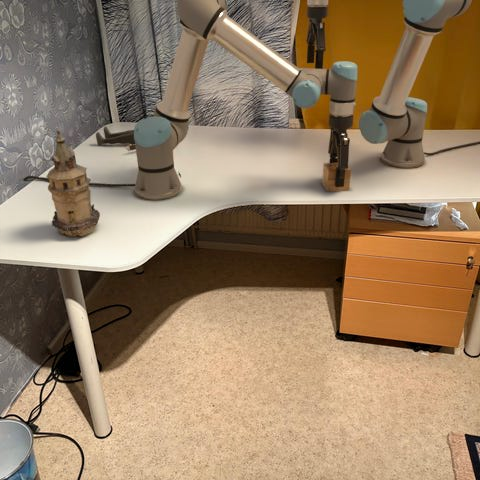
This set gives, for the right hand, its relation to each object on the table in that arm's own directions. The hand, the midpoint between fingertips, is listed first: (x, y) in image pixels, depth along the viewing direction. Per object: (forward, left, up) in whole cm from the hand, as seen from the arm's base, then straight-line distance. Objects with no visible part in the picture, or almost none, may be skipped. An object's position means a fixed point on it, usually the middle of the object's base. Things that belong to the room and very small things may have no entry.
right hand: (314, 66), depth 203 cm
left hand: (+25, +37, -28) cm, 53 cm away
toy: (+55, -45, -30) cm, 77 cm away
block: (+25, +37, -30) cm, 54 cm away
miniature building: (+104, +9, -30) cm, 109 cm away
